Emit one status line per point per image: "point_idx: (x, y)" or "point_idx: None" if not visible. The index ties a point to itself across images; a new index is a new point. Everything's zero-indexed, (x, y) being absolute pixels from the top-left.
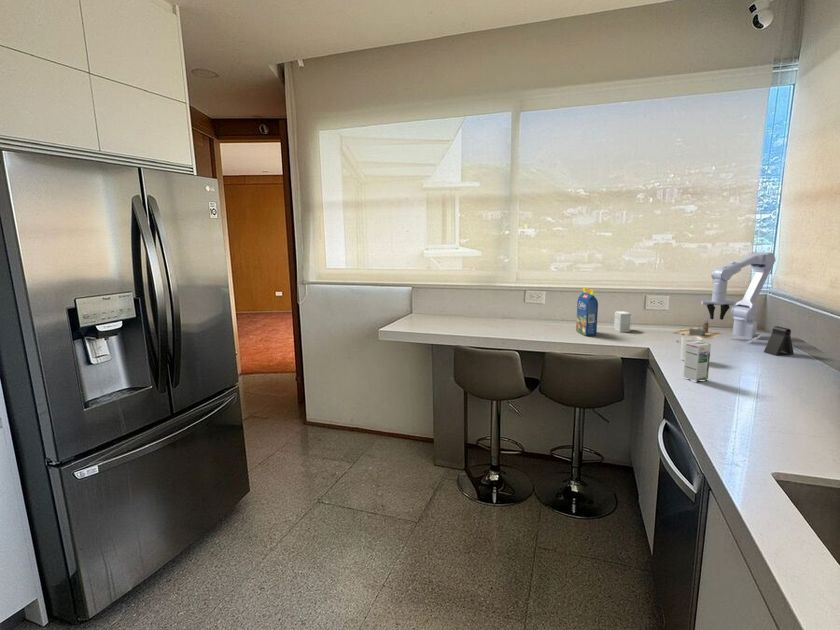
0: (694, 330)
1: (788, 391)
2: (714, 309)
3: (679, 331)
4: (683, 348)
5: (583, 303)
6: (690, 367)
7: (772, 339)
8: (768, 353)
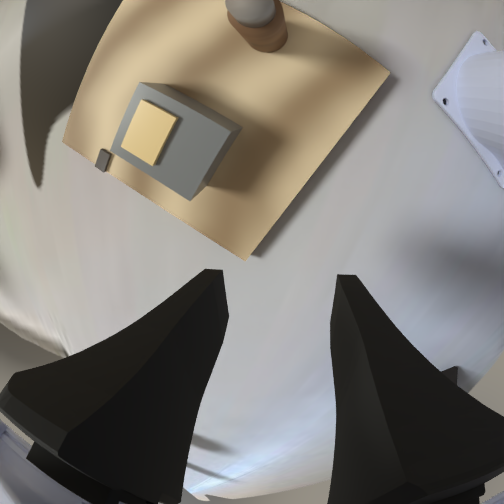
0: (142, 167)
1: (271, 481)
2: (183, 462)
3: (95, 71)
4: None
5: None
6: None
7: None
8: None
